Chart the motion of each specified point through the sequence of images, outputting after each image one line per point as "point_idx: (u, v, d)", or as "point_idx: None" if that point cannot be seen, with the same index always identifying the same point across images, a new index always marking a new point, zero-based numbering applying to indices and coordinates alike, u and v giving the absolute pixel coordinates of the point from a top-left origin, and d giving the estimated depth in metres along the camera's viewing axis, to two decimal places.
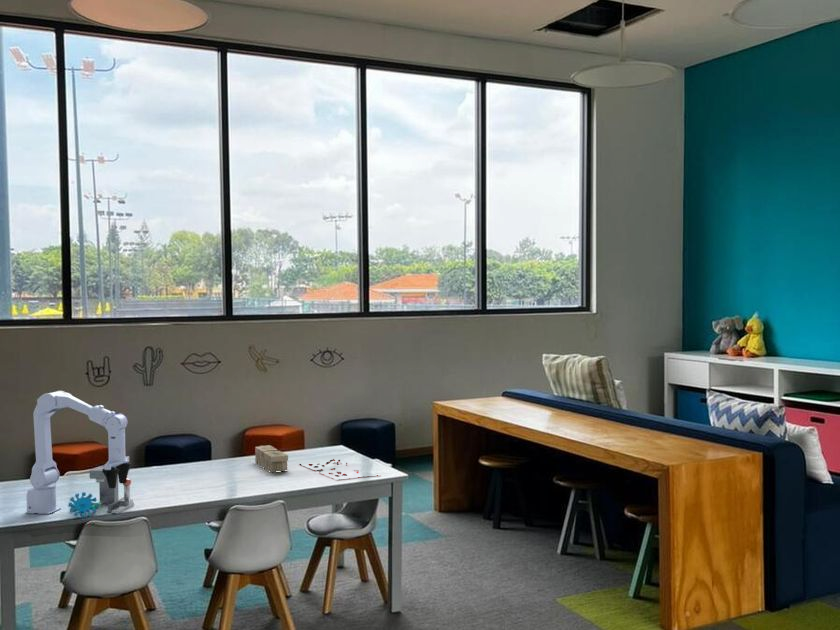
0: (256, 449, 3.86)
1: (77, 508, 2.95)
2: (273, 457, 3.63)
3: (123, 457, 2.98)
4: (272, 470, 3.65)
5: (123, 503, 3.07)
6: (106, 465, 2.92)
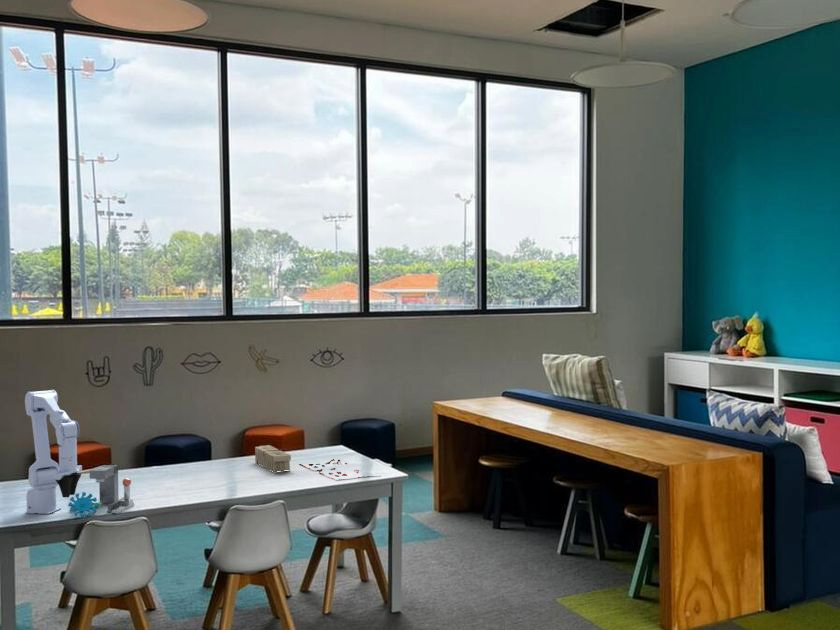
0: (256, 449, 3.86)
1: (77, 508, 2.95)
2: (276, 457, 3.64)
3: (74, 466, 2.86)
4: (275, 470, 3.65)
5: (123, 503, 3.07)
6: (55, 475, 2.80)
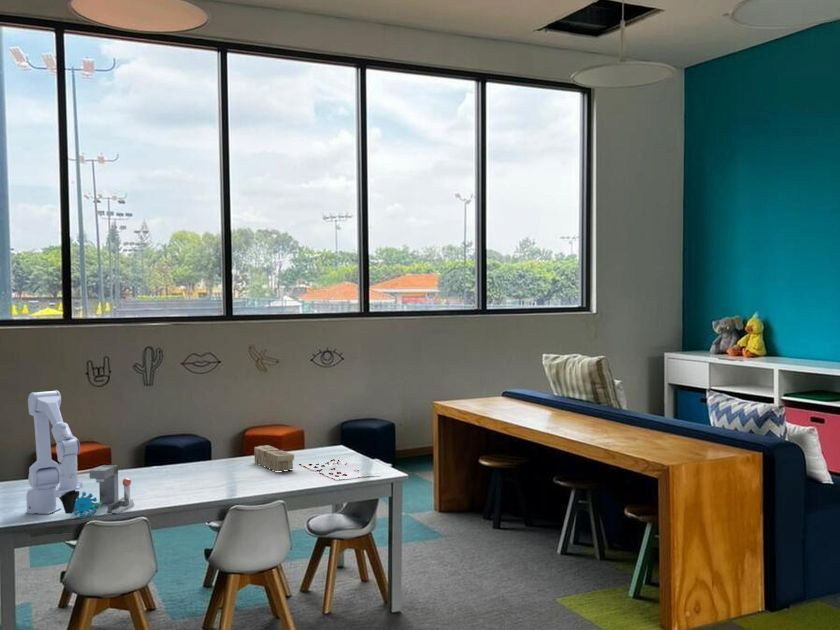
0: (256, 449, 3.85)
1: (77, 508, 2.95)
2: (280, 456, 3.65)
3: (75, 483, 2.86)
4: (278, 469, 3.66)
5: (123, 503, 3.07)
6: (56, 492, 2.80)
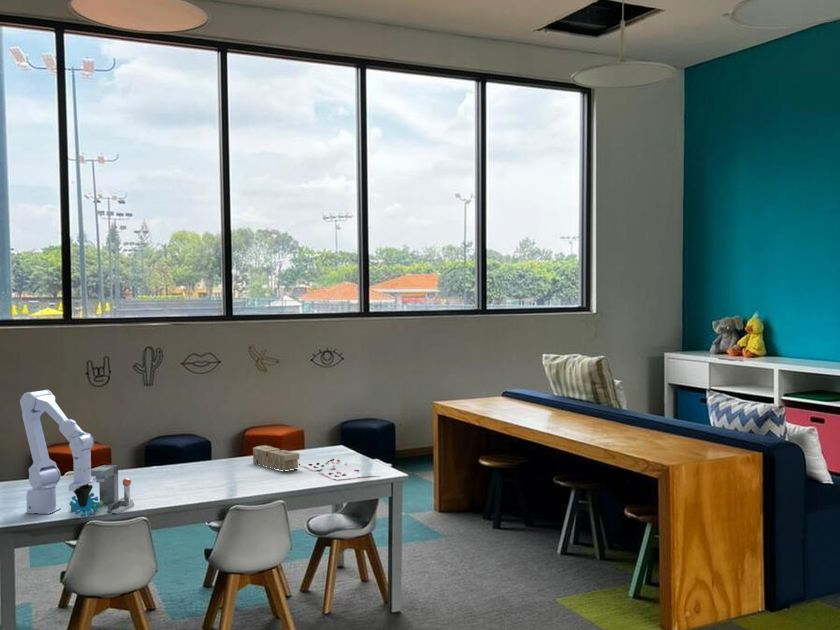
0: (255, 450, 3.84)
1: (78, 507, 2.96)
2: (286, 456, 3.66)
3: (88, 477, 2.95)
4: (285, 469, 3.67)
5: (123, 503, 3.07)
6: (70, 486, 2.89)
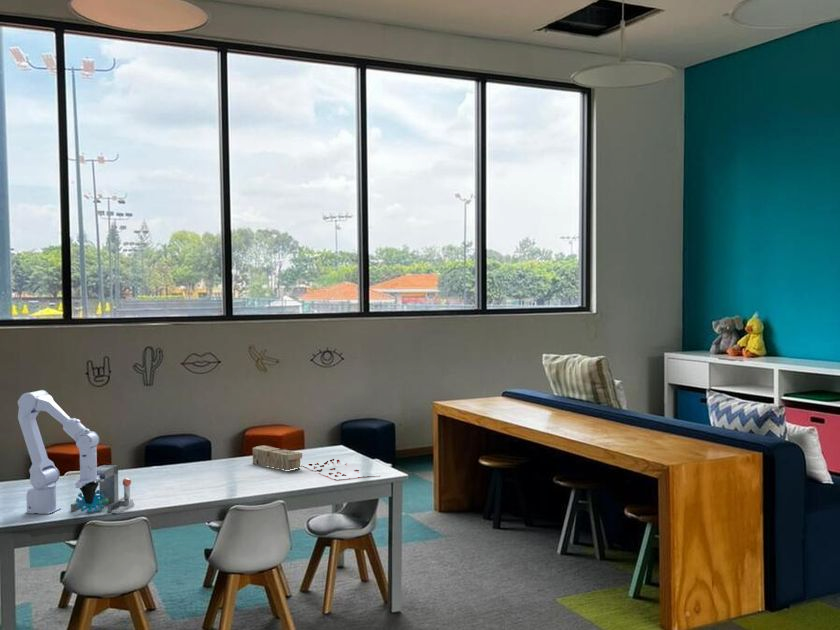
0: (255, 450, 3.84)
1: (84, 504, 3.01)
2: (290, 455, 3.67)
3: (94, 475, 2.99)
4: (288, 468, 3.68)
5: (123, 503, 3.07)
6: (77, 483, 2.93)
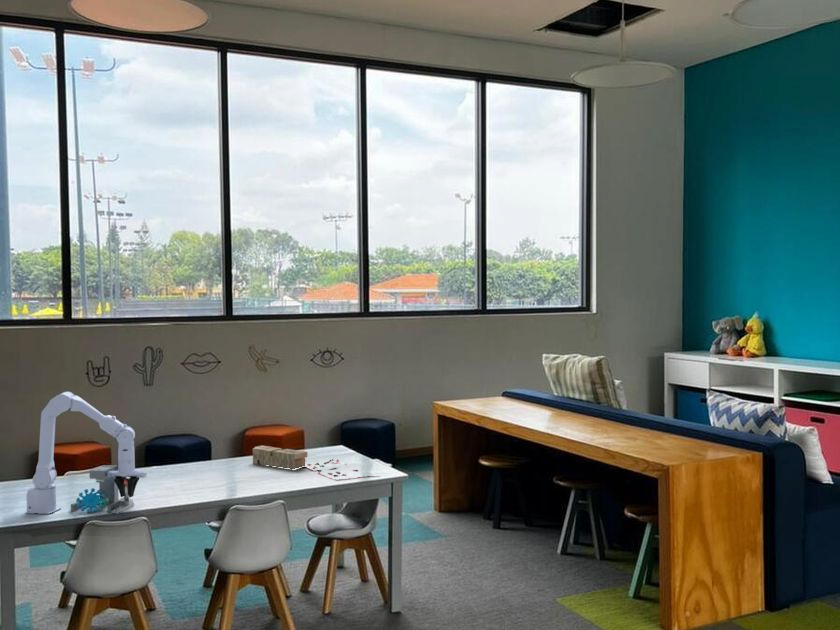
0: (255, 450, 3.83)
1: (84, 503, 3.01)
2: (296, 454, 3.69)
3: (121, 470, 3.05)
4: (294, 467, 3.70)
5: (123, 503, 3.07)
6: None
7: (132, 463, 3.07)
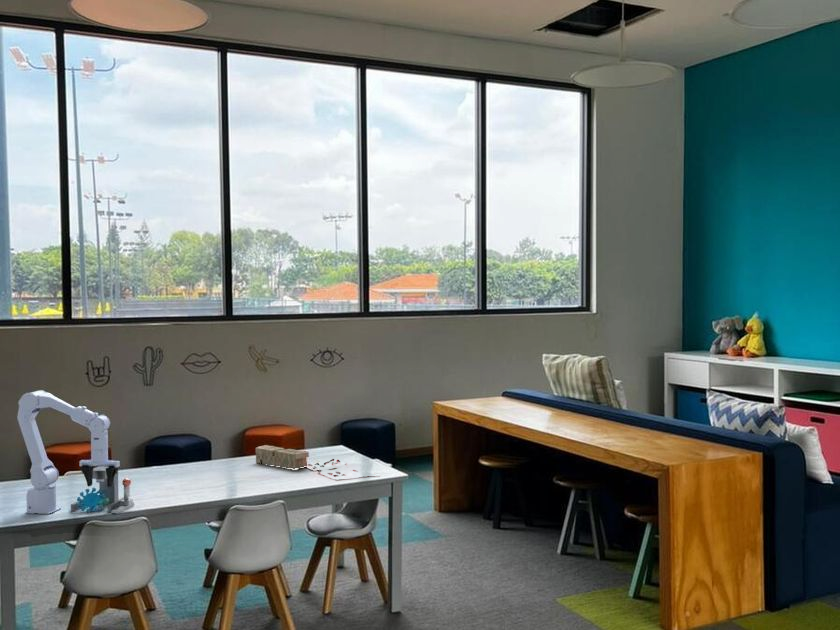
0: (258, 450, 3.85)
1: (84, 503, 3.02)
2: (297, 454, 3.69)
3: (94, 459, 2.99)
4: (295, 467, 3.70)
5: (123, 503, 3.07)
6: None
7: (105, 452, 3.01)
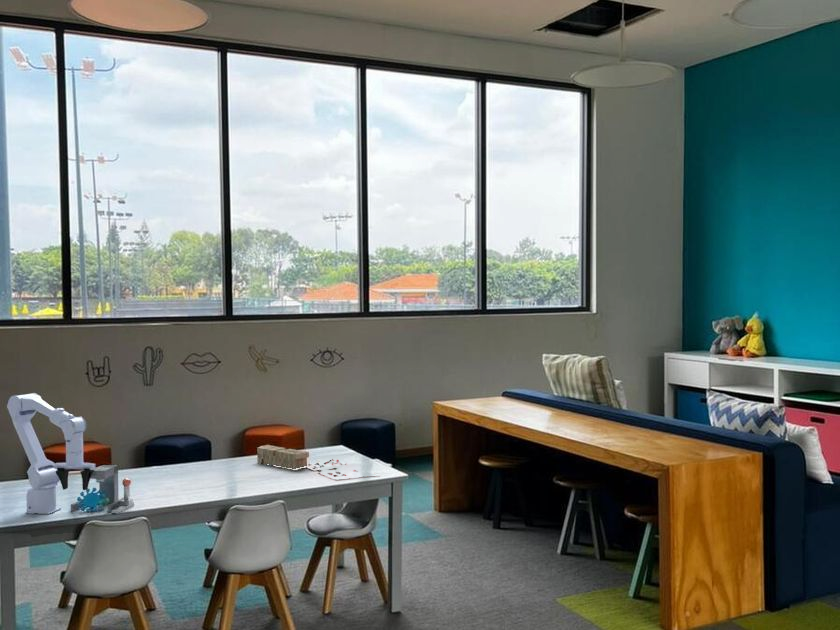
0: (260, 449, 3.85)
1: (84, 503, 3.02)
2: (297, 454, 3.69)
3: (68, 461, 2.94)
4: (295, 467, 3.70)
5: (123, 503, 3.07)
6: None
7: (80, 454, 2.95)
